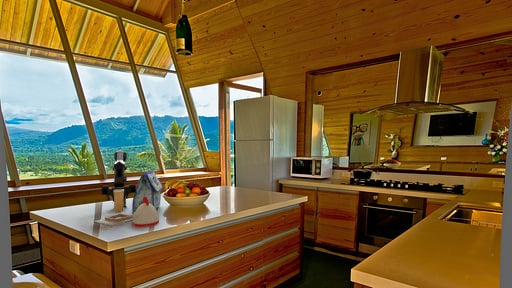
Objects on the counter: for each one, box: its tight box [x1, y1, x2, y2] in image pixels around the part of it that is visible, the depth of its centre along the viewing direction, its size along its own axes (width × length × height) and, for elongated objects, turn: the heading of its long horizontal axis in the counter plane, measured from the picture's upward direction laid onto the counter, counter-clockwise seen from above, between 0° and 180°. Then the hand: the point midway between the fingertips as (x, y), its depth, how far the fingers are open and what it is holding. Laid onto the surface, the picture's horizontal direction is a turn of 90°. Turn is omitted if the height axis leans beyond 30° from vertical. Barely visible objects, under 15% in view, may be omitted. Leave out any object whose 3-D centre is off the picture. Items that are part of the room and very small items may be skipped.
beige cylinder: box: [113, 189, 125, 214], centre depth 168 cm, size 6×6×13 cm
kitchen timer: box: [132, 197, 160, 228], centre depth 162 cm, size 14×14×15 cm
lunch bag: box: [131, 170, 164, 215], centre depth 192 cm, size 22×17×26 cm
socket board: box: [94, 213, 133, 227], centre depth 168 cm, size 20×16×2 cm
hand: (118, 201), depth 167 cm, fingers closed on beige cylinder, 5 cm apart
